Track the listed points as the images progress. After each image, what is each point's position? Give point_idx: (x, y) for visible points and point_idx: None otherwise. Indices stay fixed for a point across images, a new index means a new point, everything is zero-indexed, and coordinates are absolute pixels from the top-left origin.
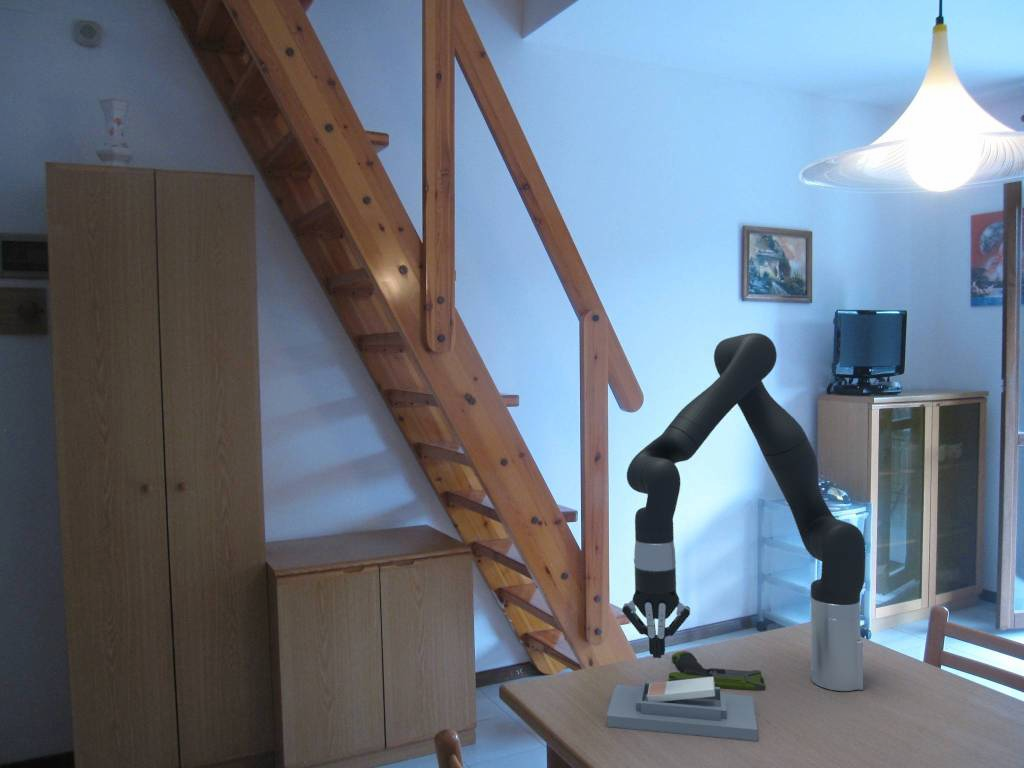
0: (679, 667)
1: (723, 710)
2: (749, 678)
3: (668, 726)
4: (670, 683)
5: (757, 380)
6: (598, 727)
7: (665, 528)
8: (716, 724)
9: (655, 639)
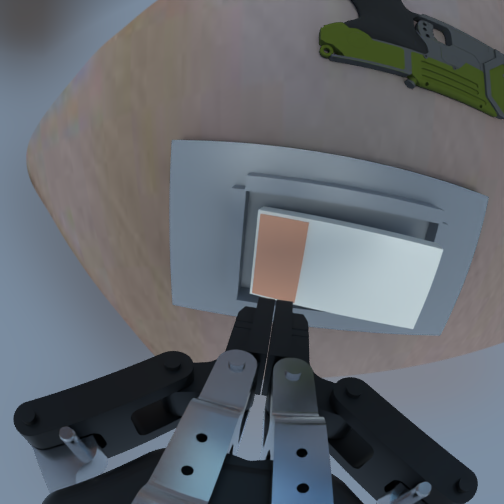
0: None
1: None
2: (490, 80)
3: None
4: (320, 240)
5: None
6: (167, 295)
7: None
8: (385, 328)
9: (256, 391)
